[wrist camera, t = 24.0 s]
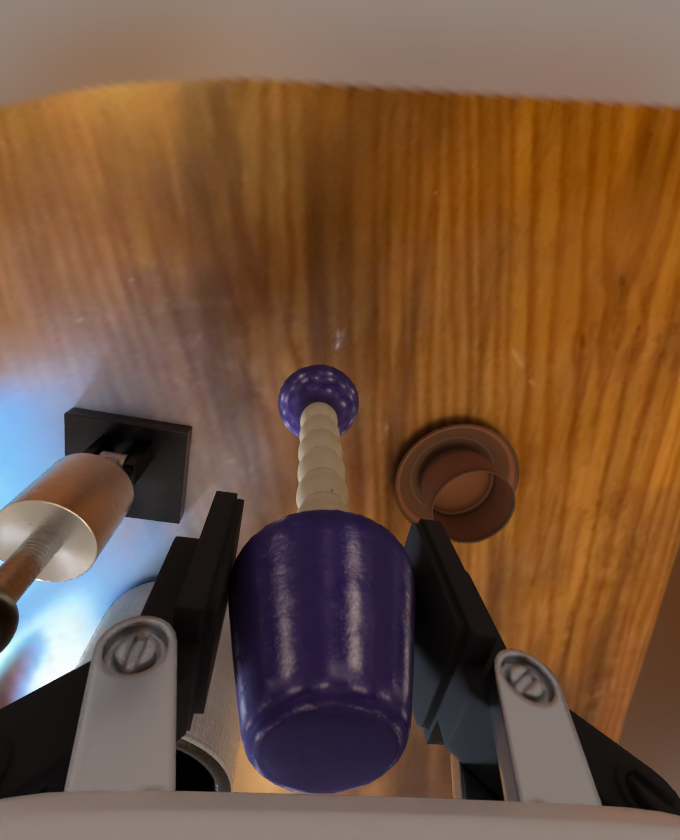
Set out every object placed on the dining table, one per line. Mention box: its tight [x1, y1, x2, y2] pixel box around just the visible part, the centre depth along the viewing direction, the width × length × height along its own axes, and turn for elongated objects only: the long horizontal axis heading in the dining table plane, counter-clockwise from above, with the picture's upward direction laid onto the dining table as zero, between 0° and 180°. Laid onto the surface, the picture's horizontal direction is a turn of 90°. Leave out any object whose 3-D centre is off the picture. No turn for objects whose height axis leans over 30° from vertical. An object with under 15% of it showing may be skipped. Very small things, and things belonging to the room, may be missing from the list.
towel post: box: [0, 450, 134, 653], centre depth 27 cm, size 6×6×19 cm
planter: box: [75, 581, 241, 792], centre depth 39 cm, size 16×16×16 cm
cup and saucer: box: [395, 424, 519, 545], centre depth 39 cm, size 12×12×6 cm
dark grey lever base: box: [64, 408, 192, 524], centre depth 35 cm, size 10×10×7 cm
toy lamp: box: [228, 365, 416, 794], centre depth 15 cm, size 5×5×17 cm
